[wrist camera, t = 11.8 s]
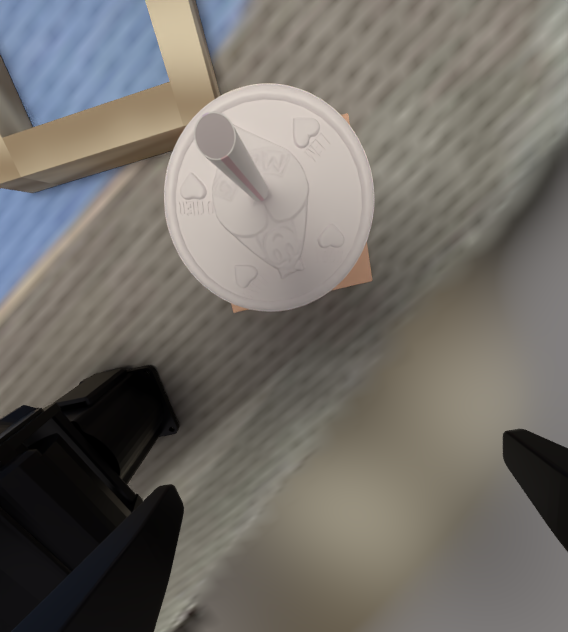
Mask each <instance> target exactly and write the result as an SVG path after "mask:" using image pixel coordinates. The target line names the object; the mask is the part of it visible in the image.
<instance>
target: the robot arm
mask: <svg viewBox="0 0 568 632" xmlns="http://www.w3.org/2000/svg"><path fill="white" fill-rule="evenodd" d="M147 371H149V372H150V374H149V373H147ZM172 427H173V428H174V429H173V428H172ZM178 430H179V424H178V421H177V419H176V417H175V415H174V412H173V410H172V408H171V405H170V403H169V401H168V398H167V396H166V394H165V391H164V389H163V387H162V384H161V382H160V380H159V377H158V375H157V373H156V371H155V369H154V368H153V367H152V366H143V367H138V368H134V369H129V370H126V369H123V368H120V369H115V370H110V371H106V372H101V373H96V374H94V375H93V376H91V377H90V378H87V379H84V380H83V381H81V382H80V383H79V385H78V386H77V387H75V388H74V389H73V390H71V391H70V392H68V393H67V394H65V395H64V396H63V397H61V398H60V399H58V400H57V401H55V402H54V403H53V404H51V405H49V406H47V407H45V408H43V409H42V408H33V407H30V406H26V405H23V406H21V407H19V408H17V409H15V410H14V411H12V412H11V413H9V414H7V415H6V416H4V417H3V418H1V419H0V632H154V629H155V626H156V622H157V619H158V616H159V612H160V609H161V606H162V602H163V599H164V596H165V592H166V589H167V585H168V581H169V577H170V573H171V569H172V565H173V560H174V555H175V551H176V546H177V542H178V537H179V532H180V528H181V523H182V519H183V514H184V506H183V502H182V500H181V498H180V496H179V494H178V492H177V490H176V488H175V486H174V485H172V484H169V485H163V486H159V487H158V488H156V489H155V490H154V491H153V492H152V493H151V494H150V495H149V496H148V497H147V498H146V499H145V500H144V501H143V499H142V498H141V497H140V496H139V495H138V494H135V493H134V492H133V491H132V490H131V489H130V488H129V486H128V485H127V484H128V482H129V481H130V479H131V478H132V476H133V475H134V473H135V472H136V470H137V469H138V467H139V466H140V464H141V463H142V461H143V460H144V458H145V457H146V455H147V454H148V452H149V451H150V449H151V448H152V446H153V445H154V443H155V442H156V440H157V439H158V437H161V436H166V435H172V434H176V433H177V431H178ZM503 459H504V461H505V464H506V466H507V467H508V469H509V470H510V472H511V473H512V474H513V476H514V477H515V479H516V480H517V482H518V483H519V485H520V486H521V488H522V489H523V490H524V492H525V493H526V494H527V496H528V498H529V499H530V501H531V502H532V503H533V505H534V506H535V508H536V509H537V511H538V512H539V514H540V515H541V517H542V518H543V519H544V521H545V522H546V524H547V525H548V526H549V528H550V529H551V531H552V532H553V533H554V535H555V536H556V537H557V539H558V540H559V541H560V543H561V544H562V545H563V546H564V548H565V549H566V550H567V551H568V448H566V447H564V446H561V445H559V444H556V443H554V442H552V441H550V440H547V439H545V438H543V437H541V436H539V435H536V434H534V433H532V432H530V431H527V430H524V429H515V430H509V431H505V432H504V433H503Z"/></svg>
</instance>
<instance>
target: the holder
mask: <svg viewBox="0 0 568 632" xmlns="http://www.w3.org/2000/svg"><path fill="white" fill-rule="evenodd" d="M145 1H146V5H147V8H148V11H149V15H150V18H151V21H152V24H153V28H154V31H155V34H156V38H157V41H158V44H159V47H160V51H161V54H162V57H163V60H164V64H165V67H166V70H167V74H168V77H169V80H170V82H167V83H164V84H161V85H159V86H156V87H153V88H150V89H147V90H144V91H141V92H138V93H135V94H132V95H129V96H126V97H123V98H120V99H117V100H114V101H111V102H108V103H105V104H102V105H99V106H96V107H93V108H90V109H87V110H84V111H81V112H78V113H75V114H72V115H69V116H66V117H63V118H60V119H57V120H54V121H51V122H48V123H45V124H42V125H39V126H36V127H32V125H31V122H30V120H29V118H28V116H27V113H26V111H25V109H24V107H23V105H22V102H21V100H20V98H19V96H18V93H17V91H16V89H15V87H14V84H13V82H12V80H11V78H10V76H9V73H8V71H7V69H6V67H5V64H4V62H3V60H2V58H1V56H0V188H4V189H10V190H17V191H23V192H29V193H34V192H38V191H41V190H44V189H47V188H51V187H54V186H57V185H60V184H64V183H67V182H70V181H74V180H77V179H80V178H83V177H87V176H90V175H93V174H97V173H100V172H103V171H106V170H110V169H113V168H116V167H119V166H123V165H126V164H129V163H133V162H136V161H139V160H142V159H146V158H149V157H152V156H156V155H159V154H162V153H165V152H169V151H172V150H173V149H174V147H175V145H176V143H177V141H178V139H179V137H180V135H181V134H182V132H183V130H184V129H185V127H186V126H187V125H188V123H189V122H190V121H191V120H192V118H193V117H194V116H195V115H196V114H197V113H198V112H199V111H200V110H201V109H202V108H204V107H205V106H206V105H207V104H209V103H210V102H211V101H213V100H214V99H216V98H218V97H219V96H220V92H219V89H218V85H217V81H216V77H215V73H214V69H213V66H212V62H211V58H210V54H209V50H208V47H207V43H206V39H205V35H204V31H203V27H202V24H201V20H200V16H199V12H198V8H197V5H196V1H195V0H145Z"/></svg>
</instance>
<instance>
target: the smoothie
mask: <svg viewBox="0 0 568 632" xmlns="http://www.w3.org/2000/svg"><path fill="white" fill-rule="evenodd" d="M164 206H165V215H166V220H167V225H168V229H169V232H170V235H171V238H172V241H173V244H174V246H175V248H176V250H177V252H178V254H179V256H180V257H181V259H182V261H183V262H184V264H185V265H186V267H187V268H188V270H189V271H190V272H191V273H192V274H193V276H194V277H195V278H196V279H197V280H198V281H199V282H200V283H201V284H202V285H203V286H205V287H206V288H207V289H208V290H209V291H211V292H212V293H214V294H215V295H217V296H218V297H220V298H222V299H223V300H225V301H227V302H229V303H232V304H234V305H237V306H240V307H243V308H246V309H251V310H257V311H268V312H273V311H284V310H290V309H294V308H298V307H301V306H304V305H307V304H309V303H311V302H313V301H316V300H317V299H319V298H321V297H322V296H324V295H325V294H327V293H328V292H330V291H331V290H332V289H333V288H335V287H336V286H337V285H338V284H339V283H340V282H341V281H342V280H343V279H344V278H345V277H346V276H347V275H348V273H349V272H350V271H351V269H352V268H353V267H354V265H355V264H356V262H357V261H358V259H359V257H360V255H361V253H362V251H363V249H364V247H365V244H366V242H367V239H368V236H369V233H370V229H371V224H372V220H373V212H374V185H373V179H372V173H371V169H370V165H369V162H368V159H367V156H366V153H365V151H364V149H363V147H362V144H361V142H360V140H359V139H358V137H357V135H356V134H355V132H354V130H353V129H352V128H351V127H350V125H349V124H348V123H347V121H346V120H345V119H344V118H343V117H342V116H341V115H340V114H339V113H338V112H337V111H336V110H335V109H334V108H333V107H331V106H330V105H329V104H328V103H326V102H325V101H323V100H322V99H320V98H319V97H317V96H315V95H313V94H311V93H309V92H307V91H304V90H302V89H299V88H296V87H292V86H288V85H281V84H267V83H263V84H254V85H248V86H244V87H240V88H237V89H234V90H232V91H229V92H227V93H225V94H223V95H221V96H219V97H218V98H216V99H214V100H213V101H211V102H210V103H209V104H207V105H206V106H205V107H204V108H202V109H201V110H200V111H199V112H198V113H197V114H196V115H195V116H194V117H193V118H192V120H191V121H190V122H189V123H188V125H187V126H186V127H185V129H184V130H183V132H182V134H181V135H180V137H179V139H178V141H177V143H176V145H175V147H174V149H173V152H172V154H171V157H170V160H169V164H168V167H167V172H166V178H165V187H164Z"/></svg>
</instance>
